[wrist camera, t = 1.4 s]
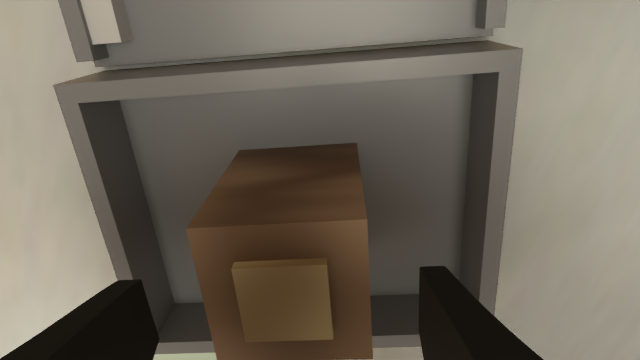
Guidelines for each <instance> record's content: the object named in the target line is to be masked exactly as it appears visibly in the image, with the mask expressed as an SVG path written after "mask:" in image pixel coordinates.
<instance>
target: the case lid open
mask: <svg viewBox="0 0 640 360" xmlns="http://www.w3.org/2000/svg"><path fill="white" fill-rule="evenodd" d="M58 2H59V5H60V8H61V12H62V15H63V18H64V21H65V25H66V28H67V31H68V35H69V38H70V41H71V45H72V48H73V51H74V55H75V58H76V61H77V62H85V61H94V63H95V67H104V66H117V65H129V64H142V63H154V62H167V61H179V60H192V59H204V58H217V57H229V56H242V55H254V54H267V53H279V52H292V51H304V50H317V49H329V48H341V47H354V46H366V45H379V44H391V43H404V42H416V41H429V40H441V39H454V38H466V37H479V36H491V35H493V28H503V27H505V19H506V7H507V0H58Z"/></svg>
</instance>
